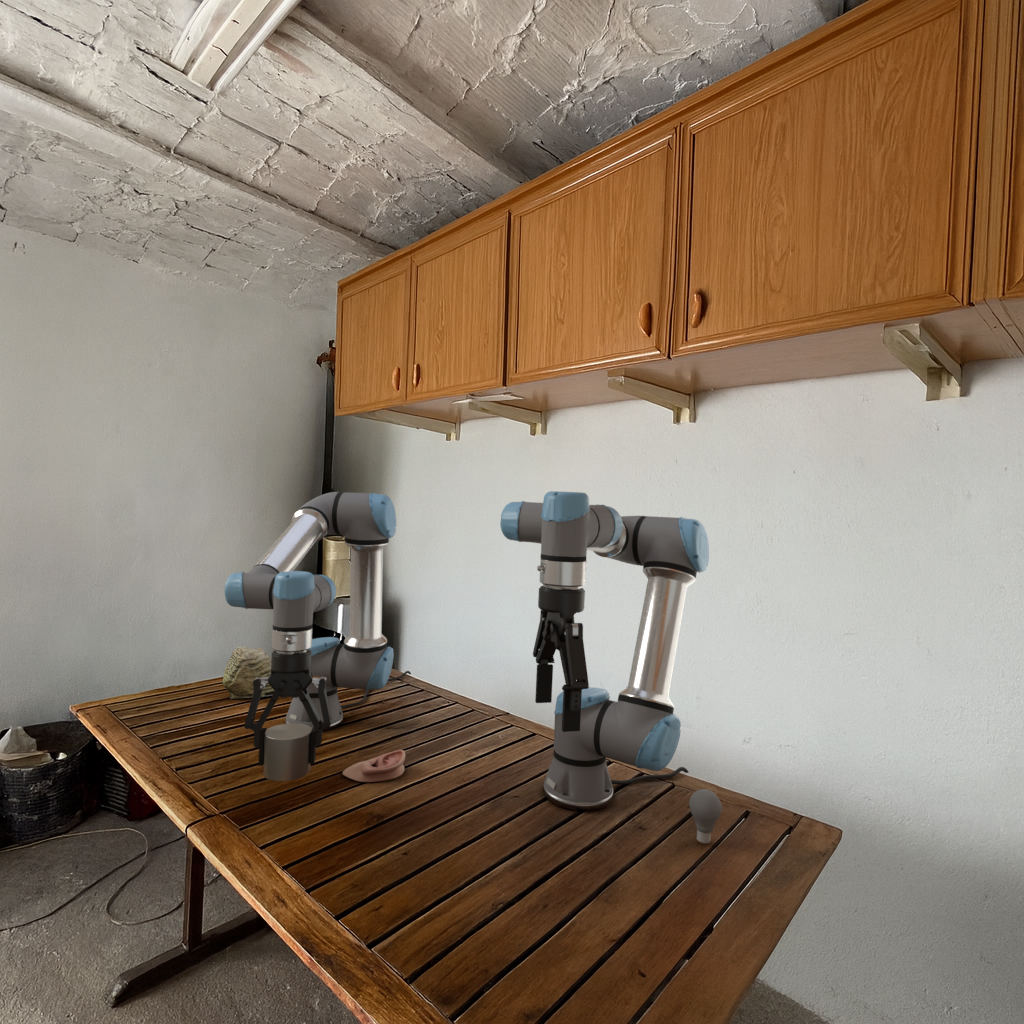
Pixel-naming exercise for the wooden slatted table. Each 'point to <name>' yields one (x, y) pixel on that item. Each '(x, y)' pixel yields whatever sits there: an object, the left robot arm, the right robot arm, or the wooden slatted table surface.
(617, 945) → the wooden slatted table surface
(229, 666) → the fossil
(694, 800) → the light bulb
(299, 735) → the can
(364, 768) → the anatomical model
